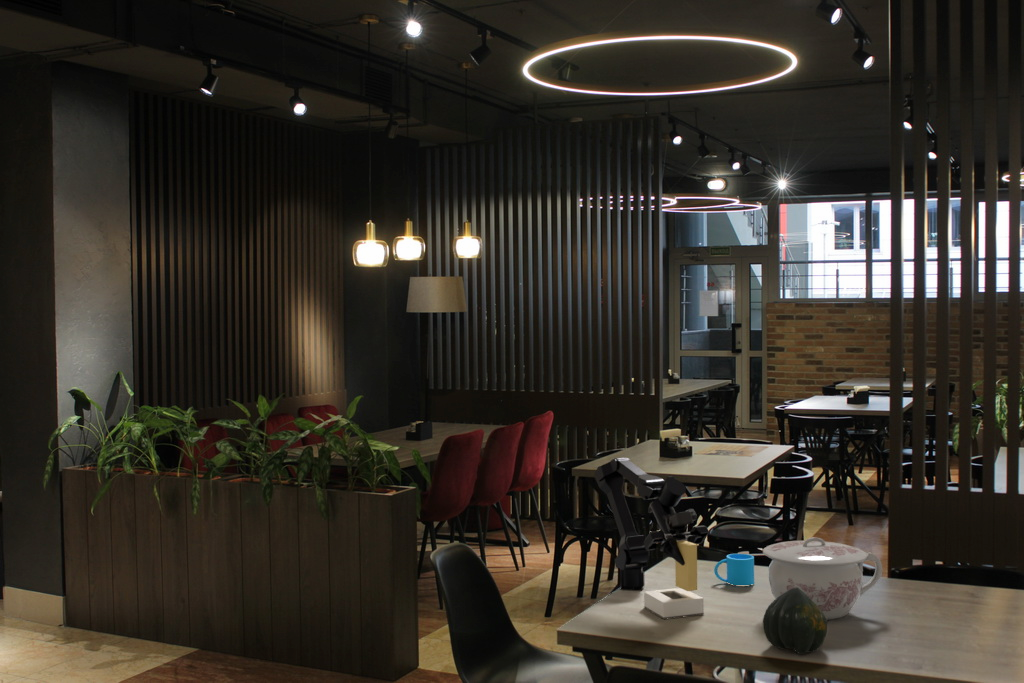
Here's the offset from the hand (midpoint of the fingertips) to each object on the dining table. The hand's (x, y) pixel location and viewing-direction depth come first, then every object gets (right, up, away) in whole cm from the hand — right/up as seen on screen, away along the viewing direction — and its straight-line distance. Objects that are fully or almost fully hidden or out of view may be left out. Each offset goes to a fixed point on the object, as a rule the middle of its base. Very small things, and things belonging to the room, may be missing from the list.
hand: (688, 563), depth 275 cm
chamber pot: (+34, -13, -3) cm, 37 cm away
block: (-1, -7, +1) cm, 7 cm away
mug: (+19, -13, +31) cm, 38 cm away
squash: (+20, -14, -31) cm, 40 cm away
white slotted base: (-4, -14, +2) cm, 14 cm away
